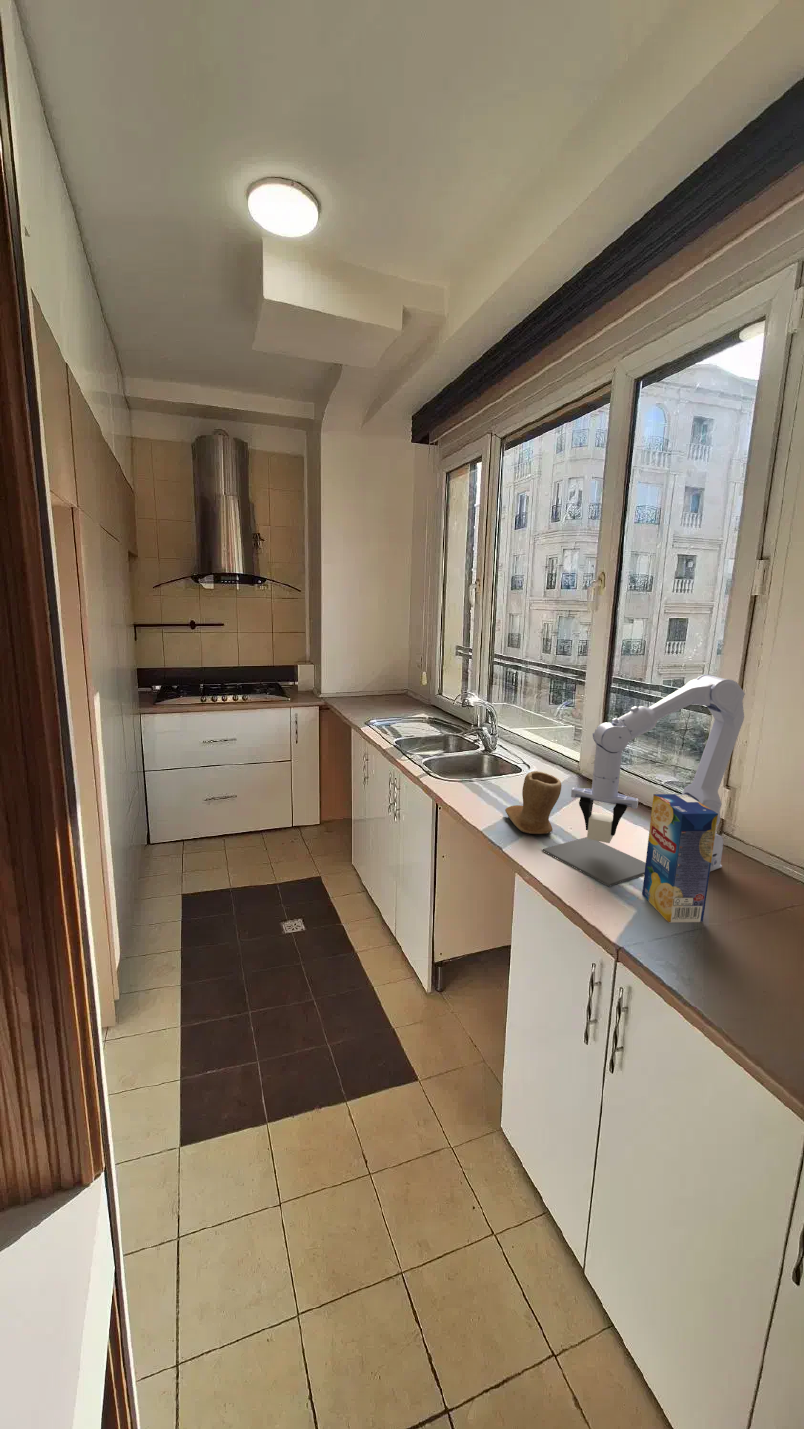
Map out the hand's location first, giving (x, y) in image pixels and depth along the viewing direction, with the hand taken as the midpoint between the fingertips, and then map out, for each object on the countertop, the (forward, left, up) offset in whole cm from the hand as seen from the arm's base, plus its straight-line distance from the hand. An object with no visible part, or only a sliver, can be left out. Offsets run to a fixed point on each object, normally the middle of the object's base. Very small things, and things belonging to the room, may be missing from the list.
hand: (600, 831), depth 137 cm
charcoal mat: (0, 0, -7) cm, 7 cm away
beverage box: (-22, +4, -8) cm, 24 cm away
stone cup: (+23, -1, -8) cm, 24 cm away
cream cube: (0, 0, -2) cm, 2 cm away
